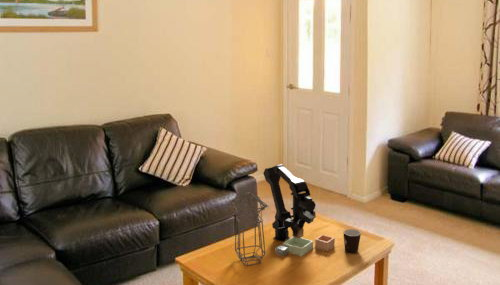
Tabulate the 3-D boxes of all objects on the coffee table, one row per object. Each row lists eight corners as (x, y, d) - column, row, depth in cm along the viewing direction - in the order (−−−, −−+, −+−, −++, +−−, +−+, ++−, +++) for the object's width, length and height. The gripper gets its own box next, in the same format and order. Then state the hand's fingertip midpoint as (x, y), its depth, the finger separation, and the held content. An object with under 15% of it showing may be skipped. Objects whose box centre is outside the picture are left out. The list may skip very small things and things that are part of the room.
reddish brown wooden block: (275, 254, 253) (275, 247, 252) (279, 251, 256) (279, 244, 255) (283, 256, 250) (283, 250, 249) (287, 254, 253) (287, 247, 252)
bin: (282, 250, 257) (282, 243, 256) (294, 242, 265) (294, 235, 264) (301, 256, 250) (301, 249, 249) (312, 248, 259) (313, 241, 258)
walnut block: (292, 236, 256) (292, 229, 255) (296, 233, 259) (296, 226, 258) (299, 238, 253) (299, 231, 252) (303, 235, 256) (303, 228, 255)
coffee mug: (360, 255, 251) (361, 236, 248) (342, 253, 252) (343, 235, 250) (359, 245, 262) (360, 227, 259) (343, 243, 263) (343, 226, 261)
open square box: (315, 248, 259) (315, 239, 258) (322, 243, 264) (322, 234, 263) (327, 251, 255) (327, 242, 253) (334, 246, 260) (334, 237, 259)
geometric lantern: (239, 270, 237) (236, 199, 229) (231, 256, 252) (228, 189, 244) (271, 265, 241) (269, 195, 233) (261, 252, 256) (259, 186, 248)
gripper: (302, 214, 240) (301, 245, 244) (321, 203, 254) (321, 232, 258) (282, 209, 246) (282, 239, 250) (303, 198, 261) (302, 226, 265)
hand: (297, 234), depth 256 cm, fingers closed on walnut block, 4 cm apart
